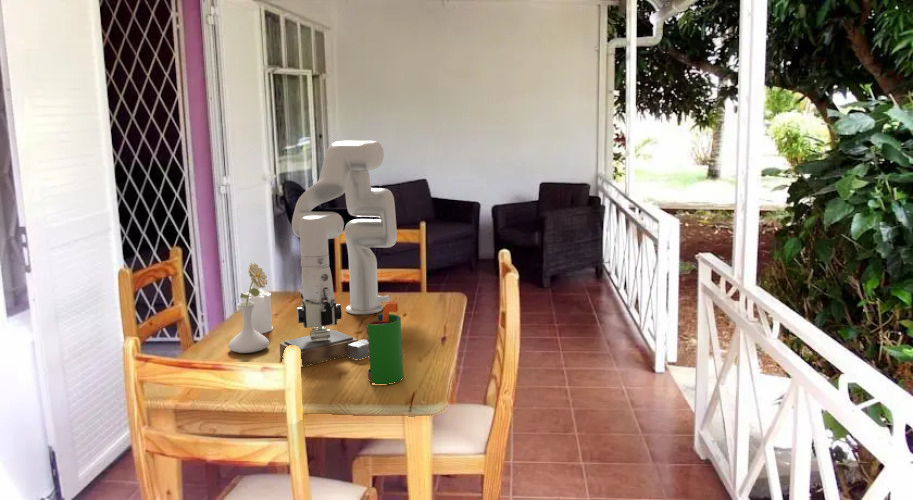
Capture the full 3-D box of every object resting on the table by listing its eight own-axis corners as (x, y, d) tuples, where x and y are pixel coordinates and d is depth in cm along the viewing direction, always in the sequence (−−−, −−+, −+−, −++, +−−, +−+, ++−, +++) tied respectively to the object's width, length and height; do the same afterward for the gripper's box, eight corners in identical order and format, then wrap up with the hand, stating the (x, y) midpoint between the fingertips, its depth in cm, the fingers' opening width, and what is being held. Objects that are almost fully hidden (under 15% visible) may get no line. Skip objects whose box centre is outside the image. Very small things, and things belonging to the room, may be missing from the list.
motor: (368, 372, 191) (366, 298, 187) (403, 371, 192) (401, 296, 188) (367, 386, 181) (364, 308, 177) (403, 385, 182) (401, 306, 178)
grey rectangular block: (364, 352, 207) (363, 339, 207) (374, 355, 205) (373, 341, 204) (348, 358, 203) (347, 344, 202) (358, 361, 200) (358, 347, 200)
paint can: (236, 330, 230) (232, 268, 226) (262, 324, 237) (258, 263, 233) (255, 337, 223) (251, 273, 219) (281, 330, 230) (277, 268, 226)
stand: (336, 343, 216) (335, 328, 215) (358, 353, 207) (357, 337, 206) (280, 356, 204) (279, 341, 203) (301, 367, 195) (300, 351, 194)
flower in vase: (247, 358, 203) (242, 270, 198) (220, 352, 209) (213, 266, 204) (282, 346, 214) (277, 262, 209) (254, 340, 220) (249, 258, 215)
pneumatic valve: (342, 340, 203) (341, 298, 201) (300, 345, 199) (297, 302, 197) (339, 335, 208) (337, 294, 206) (297, 339, 205) (295, 297, 202)
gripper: (343, 263, 196) (346, 325, 200) (311, 254, 209) (314, 312, 213) (319, 267, 192) (321, 330, 195) (287, 258, 205) (290, 317, 208)
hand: (318, 321), depth 204 cm, fingers open, 9 cm apart
